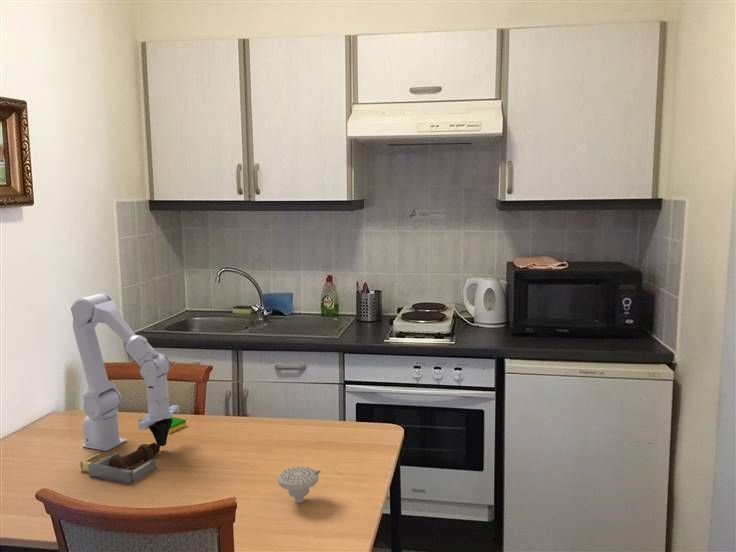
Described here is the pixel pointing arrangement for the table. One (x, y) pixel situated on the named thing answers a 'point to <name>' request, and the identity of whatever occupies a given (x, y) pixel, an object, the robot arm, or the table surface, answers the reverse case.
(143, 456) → the bolt
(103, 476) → the grey u-shaped bracket
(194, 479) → the table surface
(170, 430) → the dish sponge
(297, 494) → the showerhead
